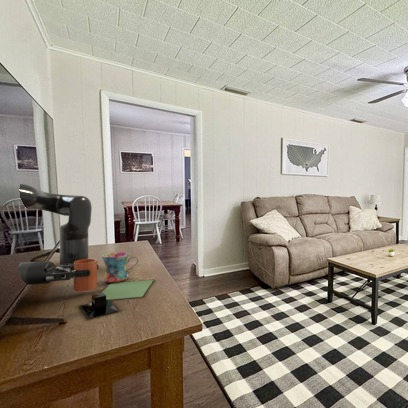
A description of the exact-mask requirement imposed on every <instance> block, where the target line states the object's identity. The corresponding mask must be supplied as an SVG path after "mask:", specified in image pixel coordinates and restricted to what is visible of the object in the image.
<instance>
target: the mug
mask: <svg viewBox="0 0 408 408" xmlns="http://www.w3.org/2000/svg"><path fill="white" fill-rule="evenodd" d="M131 255H132V253H131V252H112V253H111V252H110V253H105V254H103V255H101V259H102V260H103V262H104V263H103V264H104V267H105V272H104V276H103V278H102V282H104V283H109V284H111V283H118V282H125V281H126V280H128V279H129V278H130V275H129V273H130V270H132V269H134V267H136V266H137V265H138V263H139V261H140V259H139V257H137V256H132V257H131ZM132 259H137V260H136V263H135V264H134V265H132V267H129V268H127V266H128V263H129V262H130V260H132Z"/></svg>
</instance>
